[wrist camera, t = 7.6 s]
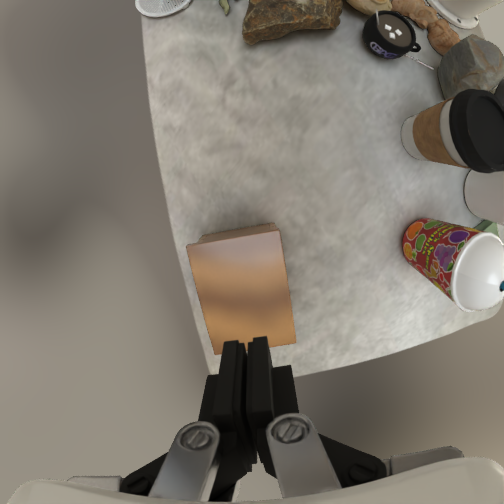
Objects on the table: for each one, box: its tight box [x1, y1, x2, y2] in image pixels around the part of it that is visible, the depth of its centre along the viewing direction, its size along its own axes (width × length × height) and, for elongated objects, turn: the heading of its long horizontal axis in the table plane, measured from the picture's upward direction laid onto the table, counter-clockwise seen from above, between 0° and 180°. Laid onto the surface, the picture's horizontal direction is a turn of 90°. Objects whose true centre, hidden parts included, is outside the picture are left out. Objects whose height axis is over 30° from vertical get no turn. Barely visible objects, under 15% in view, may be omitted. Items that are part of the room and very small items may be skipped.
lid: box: [186, 228, 296, 355], centre depth 29 cm, size 12×9×1 cm
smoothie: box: [402, 218, 504, 312], centre depth 26 cm, size 8×8×20 cm
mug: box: [363, 10, 434, 70], centre depth 25 cm, size 12×6×7 cm, turn 77°
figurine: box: [391, 0, 461, 56], centre depth 26 cm, size 7×4×20 cm
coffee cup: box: [401, 89, 504, 174], centre depth 25 cm, size 8×8×15 cm
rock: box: [242, 0, 343, 45], centre depth 25 cm, size 14×6×10 cm
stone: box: [438, 34, 504, 100], centre depth 24 cm, size 12×8×8 cm
